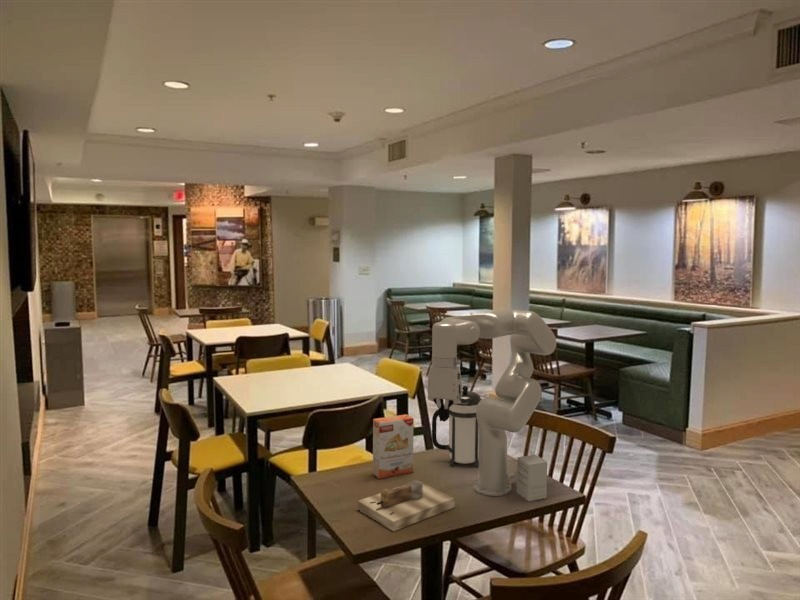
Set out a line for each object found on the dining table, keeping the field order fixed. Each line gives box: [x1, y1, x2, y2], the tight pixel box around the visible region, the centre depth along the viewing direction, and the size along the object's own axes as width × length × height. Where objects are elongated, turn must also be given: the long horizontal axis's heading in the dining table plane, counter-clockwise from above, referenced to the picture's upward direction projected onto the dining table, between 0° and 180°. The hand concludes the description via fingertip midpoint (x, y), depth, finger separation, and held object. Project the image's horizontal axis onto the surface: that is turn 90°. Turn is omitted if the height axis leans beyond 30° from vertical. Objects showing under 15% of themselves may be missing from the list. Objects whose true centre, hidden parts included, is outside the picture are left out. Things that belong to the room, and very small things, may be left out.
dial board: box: [357, 482, 456, 532], centre depth 187 cm, size 25×18×3 cm
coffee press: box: [431, 385, 483, 469], centre depth 225 cm, size 17×16×30 cm
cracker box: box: [372, 413, 415, 480], centre depth 215 cm, size 14×6×21 cm, turn 117°
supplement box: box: [516, 454, 548, 502], centre depth 196 cm, size 7×7×13 cm
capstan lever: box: [377, 480, 424, 508], centre depth 185 cm, size 18×5×5 cm, turn 129°
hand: (443, 420), depth 184 cm, fingers closed
